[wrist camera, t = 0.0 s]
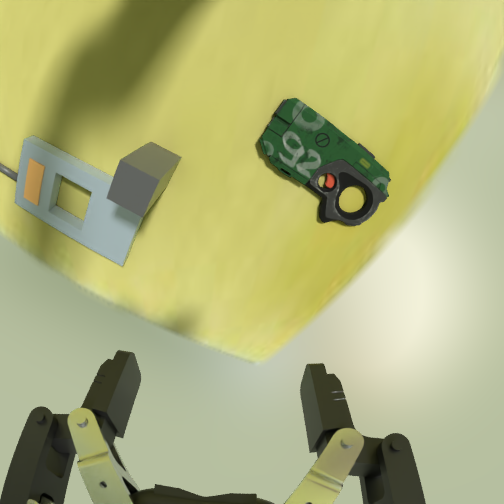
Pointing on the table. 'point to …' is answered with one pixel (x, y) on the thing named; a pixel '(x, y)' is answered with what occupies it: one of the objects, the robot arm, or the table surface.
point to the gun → (324, 160)
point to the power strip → (44, 207)
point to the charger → (142, 178)
